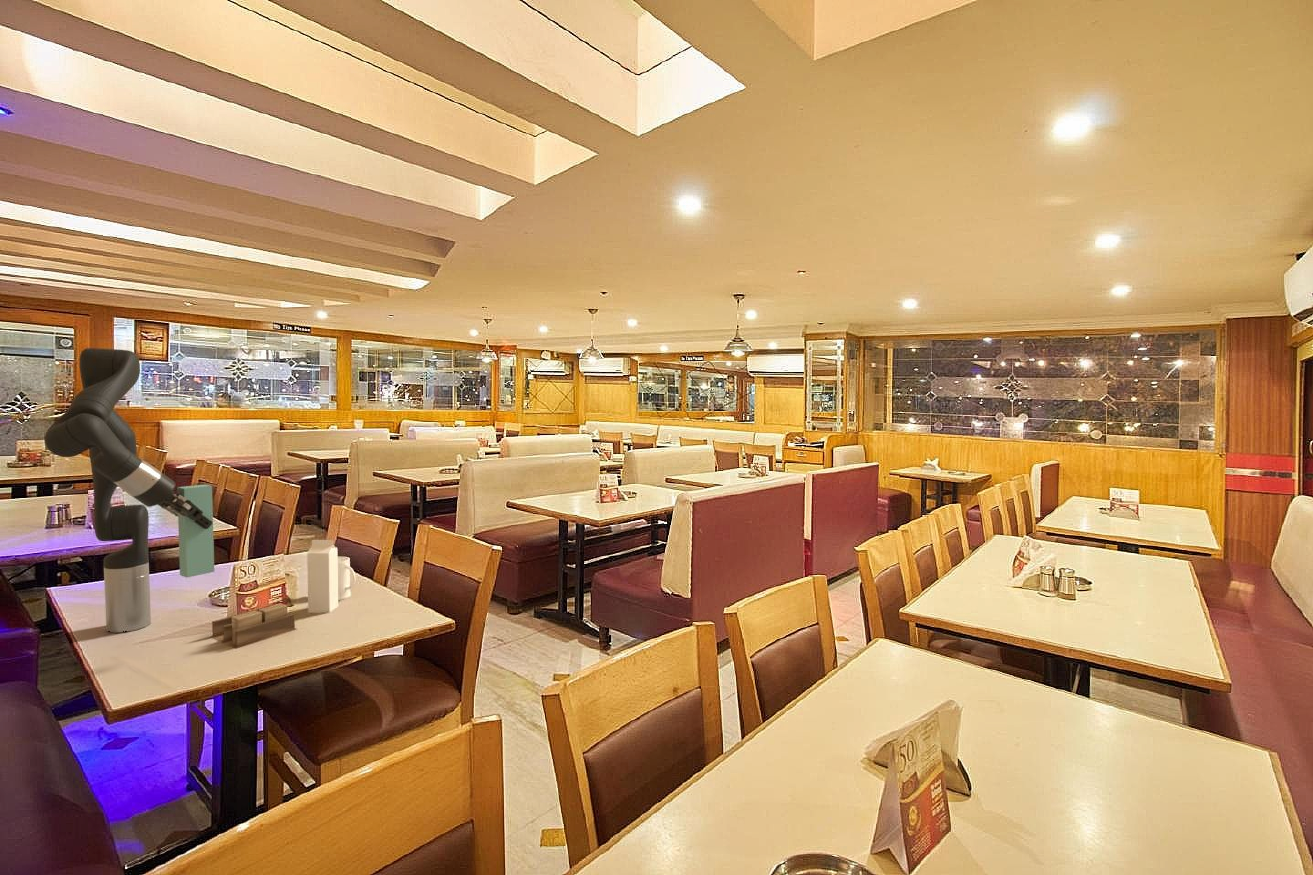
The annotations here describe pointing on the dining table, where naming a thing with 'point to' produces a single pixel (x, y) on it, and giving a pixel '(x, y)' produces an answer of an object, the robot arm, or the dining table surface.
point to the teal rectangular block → (196, 533)
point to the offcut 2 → (273, 612)
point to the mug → (344, 578)
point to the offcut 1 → (245, 621)
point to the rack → (251, 630)
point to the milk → (322, 576)
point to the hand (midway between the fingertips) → (204, 524)
